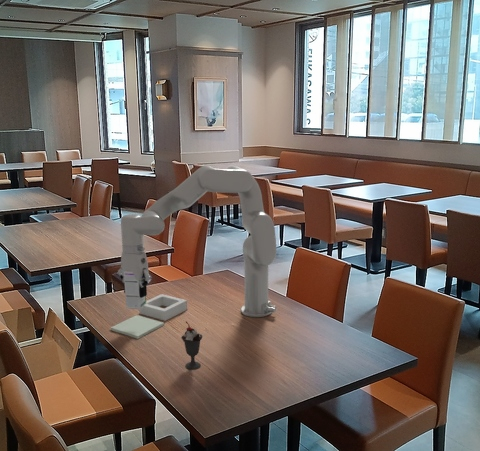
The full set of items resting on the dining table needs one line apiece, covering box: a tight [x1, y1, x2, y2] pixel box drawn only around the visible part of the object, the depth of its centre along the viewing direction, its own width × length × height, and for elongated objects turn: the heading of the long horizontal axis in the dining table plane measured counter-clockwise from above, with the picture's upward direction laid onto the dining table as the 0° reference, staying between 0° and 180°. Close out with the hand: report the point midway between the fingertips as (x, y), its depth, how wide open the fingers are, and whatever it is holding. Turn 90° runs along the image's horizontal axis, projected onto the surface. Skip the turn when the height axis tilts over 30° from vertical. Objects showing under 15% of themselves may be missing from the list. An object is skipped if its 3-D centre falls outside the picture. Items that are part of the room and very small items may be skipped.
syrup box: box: [123, 271, 147, 310], centre depth 193 cm, size 6×6×14 cm
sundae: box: [181, 321, 203, 370], centre depth 166 cm, size 7×7×15 cm
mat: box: [110, 314, 165, 340], centre depth 196 cm, size 14×14×1 cm
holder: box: [138, 293, 188, 322], centre depth 211 cm, size 14×14×4 cm
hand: (135, 294), depth 193 cm, fingers closed on syrup box, 7 cm apart
